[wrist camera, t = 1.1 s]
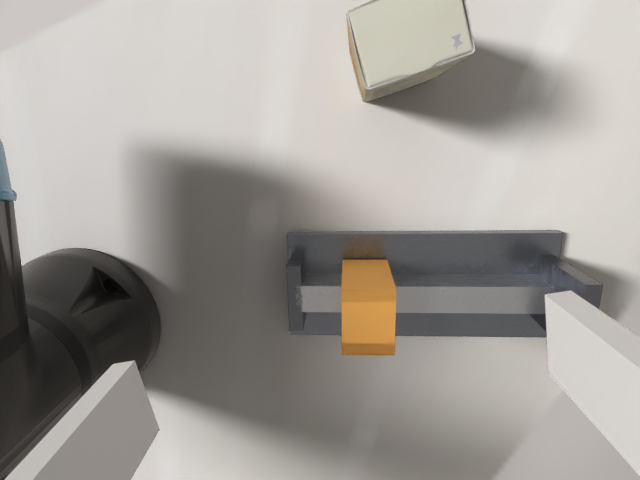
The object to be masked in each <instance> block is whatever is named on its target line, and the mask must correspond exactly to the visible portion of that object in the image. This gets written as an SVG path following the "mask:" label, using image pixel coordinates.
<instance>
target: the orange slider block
mask: <svg viewBox="0 0 640 480" xmlns="http://www.w3.org/2000/svg"><path fill="white" fill-rule="evenodd" d="M341 301H342V355H394V354H395V320H396V287H395V283H394V280H393V277H392V274H391V270H390V267H389V264H388V260H343V261H342V286H341Z"/></svg>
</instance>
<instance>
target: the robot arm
mask: <svg viewBox="0 0 640 480" xmlns="http://www.w3.org/2000/svg"><path fill="white" fill-rule="evenodd" d="M16 197H17V195H16V192H14V191H13V190H12V188H11V183H10V178H9V173H8V168H7V163H6V157H5V152H4V147H3V144H2V141H1V139H0V480H131V478H132V476H133V475H134V473H135V471H136V469H137V468H138V466H139V464H140V463H141V461H142V459H143V457H144V456H145V454H146V452H147V450H148V449H149V447H150V445H151V443H152V442H153V440H154V438H155V437H156V435H157V433H158V431H159V427H158V424H157V421H156V418H155V416H154V413H153V410H152V407H151V404H150V402H149V399H148V396H147V393H146V390H145V388H144V385H143V382H142V379H141V376H140V372H141V371H142V370H143V369H144V368H145V367H146V365H147V364H148V363H149V362H150V360H151V359H152V357H153V356H154V354H155V352H156V349H157V347H158V343H159V338H160V319H159V314H158V310H157V307H156V304H155V302H154V299H153V297H152V295H151V294H150V292H149V290H148V289H147V287H146V286H145V284H144V283H143V282H142V281H141V279H140V278H139V277H138V276H137V275H136V274H135V273H134V272H133V271H132V270H130V269H129V268H128V267H127V266H125V265H124V264H122V263H121V262H119V261H118V260H116V259H114V258H112V257H110V256H108V255H106V254H103V253H100V252H97V251H93V250H89V249H81V248H68V249H61V250H57V251H53V252H51V253H48V254H46V255H43V256H41V257H38V258H36V259H34V260H32V261H30V262H28V263H26V264H25V265H23V266H21V259H20V251H19V243H18V235H17V227H16V219H15V211H14V203H13V201H16ZM545 312H546V331H547V350H548V370H549V374H550V375H551V376H552V377H553V379H554V380H555V381H556V382H557V383H558V384H559V385H560V387H561V388H562V389H563V390H564V391H565V392H566V393H567V394H568V396H569V397H570V398H571V399H572V400H573V401H574V402H575V403H576V405H577V406H578V407H579V408H580V409H581V410H582V411H583V413H584V414H585V415H586V416H587V417H588V418H589V419H590V420H591V422H593V424H594V425H595V426H596V427H597V428H598V429H599V431H600V432H601V433H602V434H603V435H604V436H605V437H606V439H607V440H608V441H609V442H610V443H611V444H612V445H613V446H614V447H615V449H616V450H617V451H618V452H619V453H620V454H621V455H622V457H623V458H624V459H625V460H626V461H627V462H628V463H629V465H630V466H631V467H632V468H633V469H634V470H635V471H636V472H637V474H638V475H639V476H640V337H639V336H637V335H636V334H635V333H633V332H631V331H630V330H629V329H627V328H625V327H624V326H623V325H621V324H620V323H618V322H617V321H615V320H614V319H612V318H611V317H609V316H608V315H606V314H605V313H603V312H602V311H601V310H599V309H598V308H596V307H595V306H593V305H592V304H590V303H589V302H587V301H586V300H584V299H583V298H581V297H580V296H578V295H577V294H575V293H574V292H572V291H571V290H570V291H564V292H557V293H551V294H545Z"/></svg>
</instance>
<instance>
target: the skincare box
mask: <svg viewBox="0 0 640 480" xmlns="http://www.w3.org/2000/svg"><path fill="white" fill-rule="evenodd" d="M346 16H347V26H348V39H349V50H350V56H351V60H352V64H353V68H354V72H355V76H356V80H357V83H358V87H359V90H360V94H361V97H362V100H363V101H364V102H368V101H371V100H374V99H377V98H380V97H384V96H386V95H389V94H392V93H395V92H398V91H401V90H404V89H407V88H409V87H412V86H415V85H418V84H420V83H423V82H425V81H428V80H431V79H433V78H435V77H436V76H438V75H439V74H441V73H443V72H444V71H446V70H447V69H449V68H451V67H452V66H454V65H456V64H457V63H459V62H460V61H462V60H464V59H465V58H467V57H469V56H470V55H472V54H473V53H474V52H475V46H474V41H473V35H472V30H471V25H470V19H469V15H468V10H467V5H466V0H371V1H369V2H367V3H364V4H362V5H360V6H358V7H355V8H353V9H351V10H349V11H347V13H346Z"/></svg>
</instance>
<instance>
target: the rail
mask: <svg viewBox="0 0 640 480" xmlns="http://www.w3.org/2000/svg"><path fill="white" fill-rule="evenodd" d="M562 237H563V233H562V232H560V231H558V230H500V231H340V232H288V234H287V244H288V264H287V266H286V268H287V289H288V310H289V331H292V334H307V335H342V301H341V286H342V261H343V260H388V264H389V267H390V270H391V274H392V277H393V280H394V283H395V287H396V320H395V336H475V337H547V331H546V312H545V294H551V293H557V292H564V291H570V290H571V291H572V292H574V293H575V294H577V295H578V296H580V297H581V298H583V299H584V300H586V301H587V302H589V303H590V304H592V305H593V306H595V307H596V308H598V309H599V305H600V299H601V294H602V288H603V284H601V283H599V282H598V281H596V280H594V279H593V278H591V277H589V276H588V275H586V274H585V273H583V272H581V271H580V270H578V269H576V268H575V267H573V266H571V265H570V264H568V263H566V262H565V261H563V260H561V259H560V251H561V244H562Z"/></svg>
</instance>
